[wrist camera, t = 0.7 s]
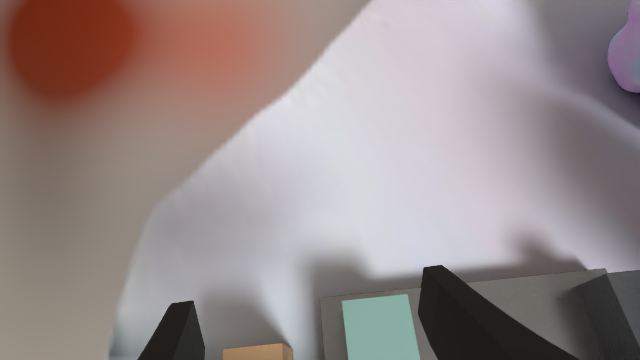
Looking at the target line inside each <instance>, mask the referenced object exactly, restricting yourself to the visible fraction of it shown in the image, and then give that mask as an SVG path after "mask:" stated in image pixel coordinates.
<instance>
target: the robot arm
mask: <svg viewBox="0 0 640 360" xmlns="http://www.w3.org/2000/svg"><path fill="white" fill-rule="evenodd" d="M418 316H419V319H420V321H421V324H422V327H423V329H424V332H425V334H426V337H427V339H428V341H429V344H430V346H431V348H432V350H433V351H434V353H435V355H436V357H437V359H438V360H580V359H578V358H577V357H575V356H573V355H571V354H570V353H568V352H566V351H564V350H563V349H561V348H559V347H558V346H556V345H554V344H552V343H551V342H549V341H547V340H546V339H544V338H543V337H541V336H539V335H538V334H536V333H535V332H533V331H532V330H530V329H529V328H527V327H526V326H524V325H522V324H521V323H519V322H518V321H516V320H515V319H514V318H512V317H511V316H509V315H508V314H506V313H505V312H503V311H502V310H501V309H499V308H498V307H497V306H495V305H494V304H492V303H491V302H490V301H488V300H487V299H486V298H484V297H483V296H482V295H480V294H479V293H478V292H476V291H475V290H474V289H472V288H471V287H470V286H469V285H467V284H466V283H465V282H463V281H462V280H461V279H459V278H458V277H457V276H456V275H454V274H453V273H452V272H450V271H449V270H448V269H446V268H445V267H444V266H442V265H437V266H430V267H424V269H423V277H422V284H421V291H420V299H419V306H418ZM204 355H205V347H204V343H203V338H202V334H201V330H200V326H199V322H198V318H197V314H196V309H195V305H194V301H186V302H179V303H172V304H171V305H170V306H169V307H168V309H167V311H166V313H165V315H164V316H163V318H162V320H161V322H160V323H159V325H158V327H157V329H156V330H155V332H154V334H153V335H152V337H151V339H150V340H149V342H148V344H147V345H146V347H145V349H144V350H143V352H142V353H141V355H140V356H139V358H138V359H137V360H204Z"/></svg>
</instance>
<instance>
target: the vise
mask: <svg viewBox="0 0 640 360" xmlns="http://www.w3.org/2000/svg"><path fill="white" fill-rule="evenodd" d="M466 284H467V285H469V286H470V287H471V288H472V289H474V290H475V291H476V292H478V293H479V294H480V295H482V296H483V297H484V298H486V299H487V300H488V301H490V302H491V303H492V304H494V305H495V306H497V307H498V308H499V309H501V310H502V311H503V312H505V313H506V314H508V315H509V316H511V317H512V318H514V319H515V320H516V321H518V322H519V323H521V324H522V325H524V326H526V327H527V328H529V329H530V330H532V331H533V332H535V333H536V334H538V335H539V336H541V337H543V338H544V339H546V340H547V341H549V342H551V343H552V344H554V345H556V346H558V347H559V348H561V349H563V350H564V351H566V352H568V353H570V354H571V355H573V356H575V357H577V358H578V359H580V360H640V270H635V271H625V272H615V273H607V271H606V269H605V268H603V269H593V270H583V271H574V272H564V273H554V274H545V275H535V276H526V277H516V278H506V279H497V280H487V281H477V282H468V283H466ZM420 291H421V287H420V288H410V289H400V290H391V291H381V292H371V293H362V294H352V295H342V296H333V297H323V298H320V309H321V321H322V333H323V345H324V356H325V360H348V356H347V347H346V338H345V329H344V320H343V311H342V301H345V300H355V299H364V298H374V297H384V296H393V295H403V294H408V299H409V305H410V310H411V315H412V320H413V325H414V330H415V335H416V340H417V345H418V351H419V356H420V360H438V359H437V357H436V355H435V353H434V351H433V350H432V348H431V346H430V344H429V341H428V339H427V337H426V334H425V332H424V329H423V327H422V324H421V321H420V319H419V316H418V306H419V299H420Z"/></svg>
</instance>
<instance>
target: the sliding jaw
mask: <svg viewBox="0 0 640 360" xmlns="http://www.w3.org/2000/svg"><path fill="white" fill-rule="evenodd" d="M342 311H343V320H344V329H345V338H346V347H347V356H348V360H420V356H419V351H418V345H417V340H416V335H415V330H414V325H413V320H412V315H411V310H410V305H409V299H408V294H403V295H393V296H384V297H374V298H364V299H355V300H345V301H342Z"/></svg>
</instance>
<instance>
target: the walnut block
mask: <svg viewBox="0 0 640 360" xmlns="http://www.w3.org/2000/svg"><path fill="white" fill-rule="evenodd" d="M223 360H293V349H291V348H290V347H288V346H286V345H285V344H283V343H277V344H268V345H258V346H248V347H238V348H229V349H223Z"/></svg>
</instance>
